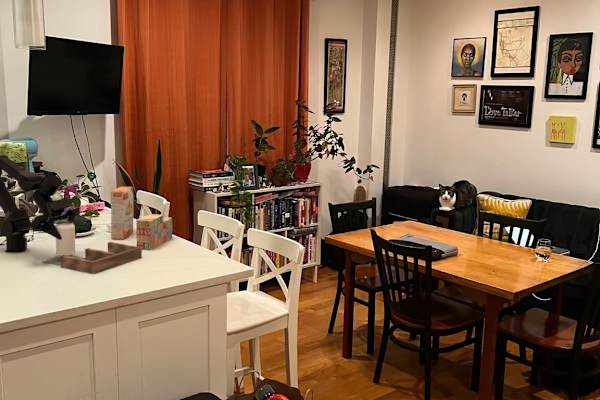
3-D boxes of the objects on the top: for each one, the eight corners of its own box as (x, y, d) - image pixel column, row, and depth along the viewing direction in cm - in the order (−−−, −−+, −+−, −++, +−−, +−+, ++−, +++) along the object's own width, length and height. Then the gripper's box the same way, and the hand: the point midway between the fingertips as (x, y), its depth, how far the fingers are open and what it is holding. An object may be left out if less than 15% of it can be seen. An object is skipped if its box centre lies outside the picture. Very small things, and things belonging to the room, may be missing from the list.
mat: (43, 262, 212) (43, 261, 212) (67, 255, 222) (67, 254, 222) (62, 266, 208) (62, 265, 208) (85, 259, 218) (85, 258, 218)
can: (59, 251, 217) (58, 220, 215) (77, 251, 218) (76, 220, 216) (53, 256, 211) (52, 223, 209) (72, 256, 211) (71, 224, 209)
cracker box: (124, 240, 248) (124, 191, 244) (110, 239, 248) (109, 190, 244) (134, 232, 261) (134, 186, 258) (121, 232, 261) (120, 185, 258)
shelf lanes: (60, 267, 207) (60, 256, 206) (110, 251, 229) (110, 241, 228) (93, 274, 200) (93, 262, 200) (141, 257, 222) (141, 247, 222)
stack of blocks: (159, 237, 255) (159, 209, 253) (172, 238, 254) (172, 210, 251) (136, 249, 234) (136, 219, 232) (151, 250, 233) (150, 220, 231)
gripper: (34, 193, 203) (58, 229, 201) (76, 187, 220) (98, 219, 217) (19, 212, 208) (42, 247, 205) (61, 204, 225) (83, 237, 222)
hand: (68, 237), depth 212 cm, fingers closed on can, 6 cm apart
